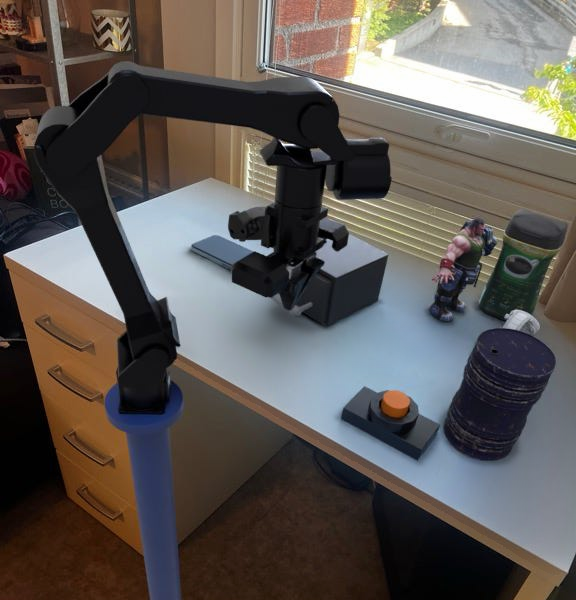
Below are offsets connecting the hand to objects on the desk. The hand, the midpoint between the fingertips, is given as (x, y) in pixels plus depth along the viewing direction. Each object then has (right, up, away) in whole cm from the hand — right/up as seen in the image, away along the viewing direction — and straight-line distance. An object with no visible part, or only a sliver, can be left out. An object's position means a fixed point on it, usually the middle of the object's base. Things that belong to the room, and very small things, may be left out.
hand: (288, 308), depth 77 cm
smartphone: (-12, +14, +32) cm, 37 cm away
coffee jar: (+40, +3, +27) cm, 49 cm away
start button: (+14, -14, -2) cm, 20 cm away
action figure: (+29, +3, +25) cm, 39 cm away
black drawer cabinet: (+7, +5, +25) cm, 26 cm away
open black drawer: (+5, +4, +22) cm, 23 cm away
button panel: (+14, -16, +1) cm, 22 cm away
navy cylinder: (+27, -18, +1) cm, 32 cm away
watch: (+33, -9, +13) cm, 37 cm away
